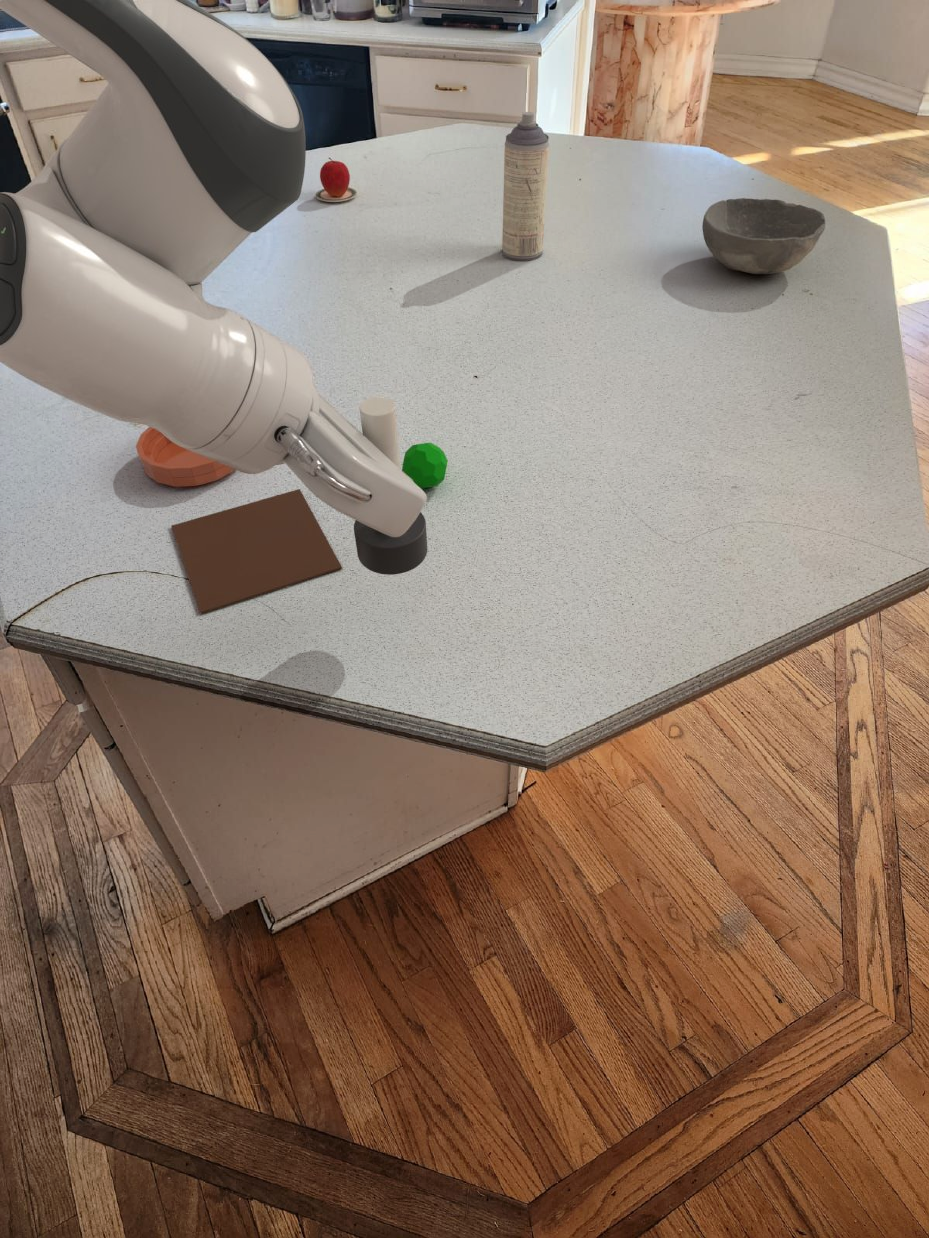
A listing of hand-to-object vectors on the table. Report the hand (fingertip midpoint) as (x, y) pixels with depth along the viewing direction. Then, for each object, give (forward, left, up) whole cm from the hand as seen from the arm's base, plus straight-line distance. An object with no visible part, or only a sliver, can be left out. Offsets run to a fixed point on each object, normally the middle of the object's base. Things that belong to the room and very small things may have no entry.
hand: (391, 473), depth 60 cm
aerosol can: (+50, +68, -16) cm, 86 cm away
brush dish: (-12, +33, -16) cm, 38 cm away
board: (-10, +15, -16) cm, 24 cm away
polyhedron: (+10, +17, -16) cm, 25 cm away
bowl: (+80, +46, -16) cm, 93 cm away
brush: (-1, 0, -8) cm, 8 cm away
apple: (+31, +108, -16) cm, 113 cm away
